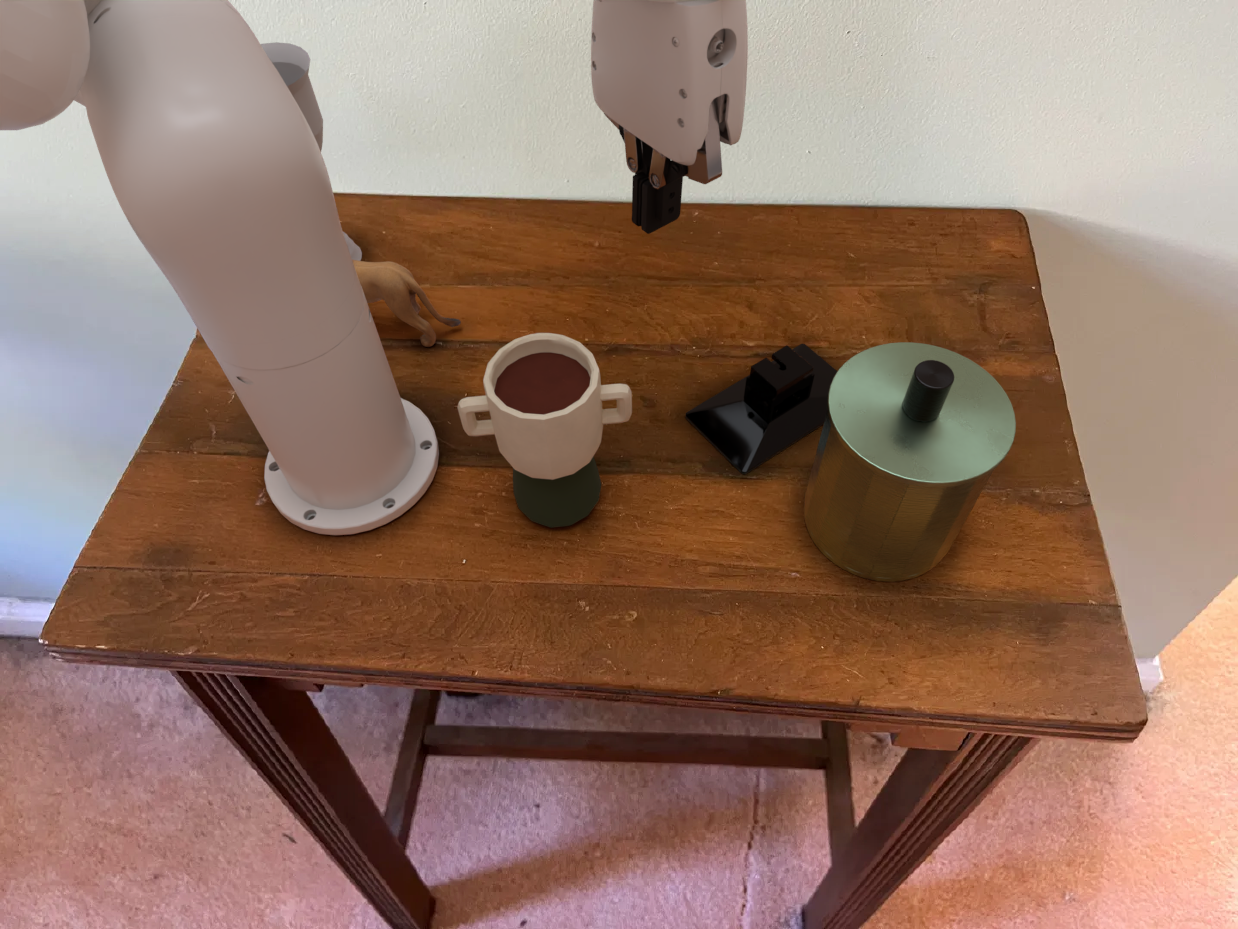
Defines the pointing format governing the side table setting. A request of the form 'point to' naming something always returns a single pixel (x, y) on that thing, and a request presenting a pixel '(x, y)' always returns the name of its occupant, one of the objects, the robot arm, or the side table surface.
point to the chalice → (302, 97)
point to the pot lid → (921, 414)
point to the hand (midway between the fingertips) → (655, 220)
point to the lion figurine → (399, 295)
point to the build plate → (767, 407)
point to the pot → (880, 515)
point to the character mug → (548, 423)
